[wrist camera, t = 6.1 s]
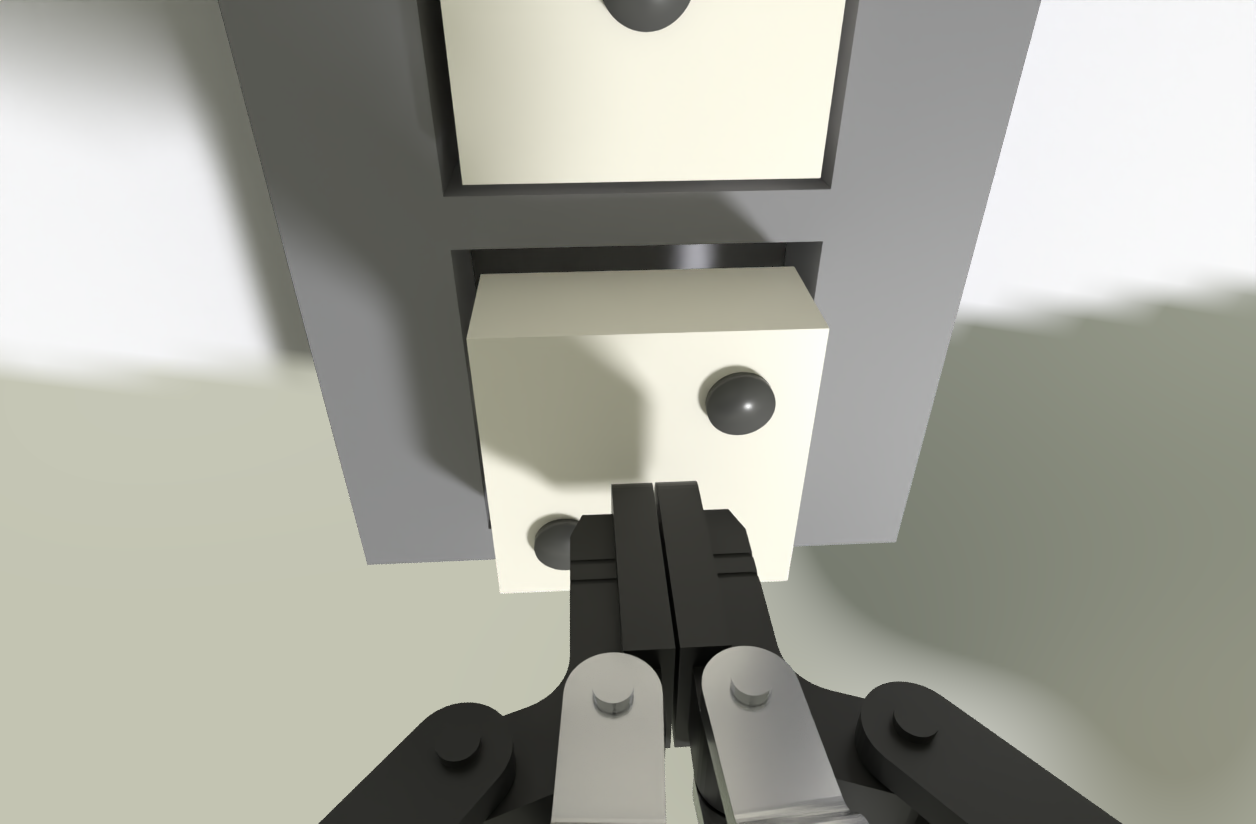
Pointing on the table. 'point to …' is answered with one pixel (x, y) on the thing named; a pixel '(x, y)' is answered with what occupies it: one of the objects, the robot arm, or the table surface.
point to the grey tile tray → (615, 243)
